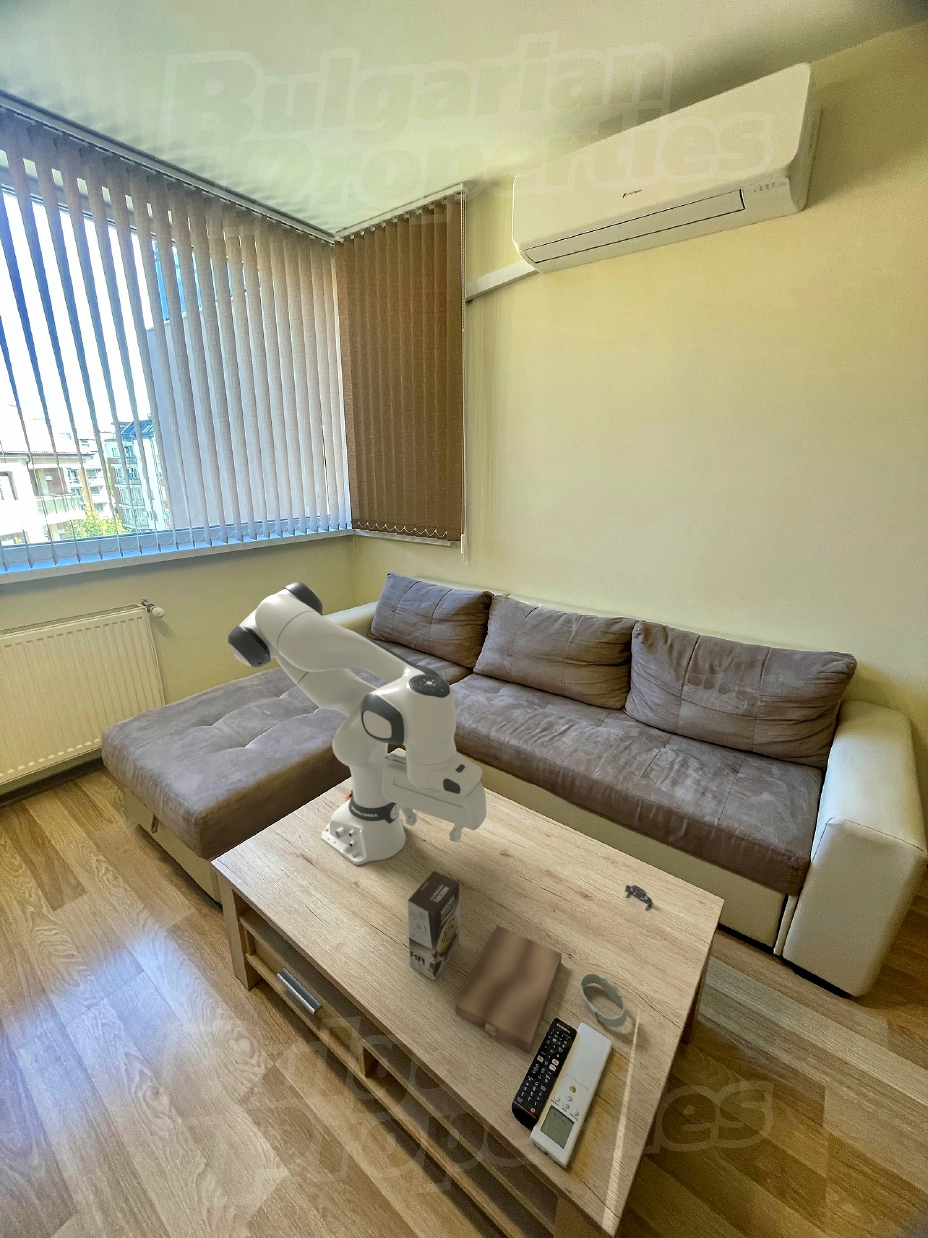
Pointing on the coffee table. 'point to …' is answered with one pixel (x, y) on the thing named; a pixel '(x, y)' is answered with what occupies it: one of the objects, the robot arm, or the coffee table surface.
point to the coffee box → (433, 924)
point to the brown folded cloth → (510, 988)
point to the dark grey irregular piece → (639, 894)
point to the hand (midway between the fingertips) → (432, 831)
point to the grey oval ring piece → (611, 992)
